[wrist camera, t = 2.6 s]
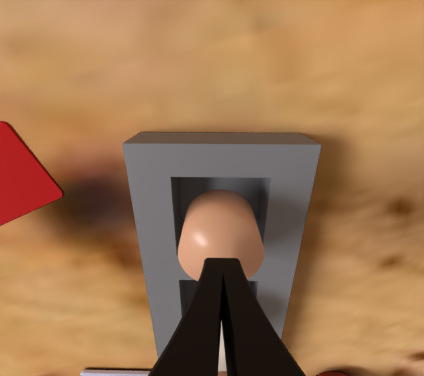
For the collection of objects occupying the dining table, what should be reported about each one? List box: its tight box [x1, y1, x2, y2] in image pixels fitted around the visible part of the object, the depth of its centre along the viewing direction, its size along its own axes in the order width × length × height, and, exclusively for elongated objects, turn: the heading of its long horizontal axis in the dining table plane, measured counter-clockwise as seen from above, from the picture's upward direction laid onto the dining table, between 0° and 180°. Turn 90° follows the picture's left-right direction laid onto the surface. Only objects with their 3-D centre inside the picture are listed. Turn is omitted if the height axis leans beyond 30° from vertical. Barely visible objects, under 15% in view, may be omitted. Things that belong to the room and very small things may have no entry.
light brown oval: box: [178, 189, 264, 281], centre depth 12 cm, size 4×4×3 cm
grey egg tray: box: [122, 132, 321, 359], centre depth 18 cm, size 24×10×3 cm, turn 0°
